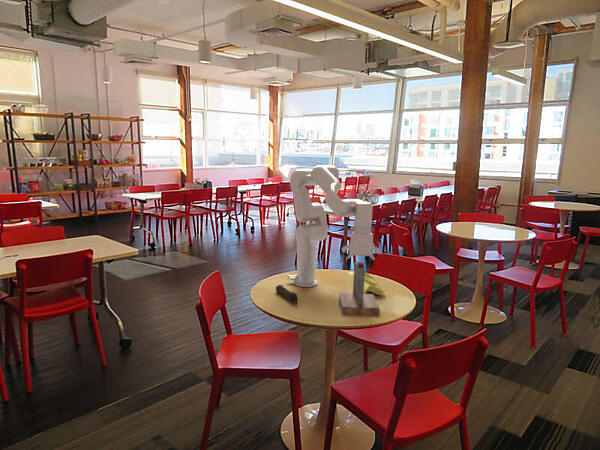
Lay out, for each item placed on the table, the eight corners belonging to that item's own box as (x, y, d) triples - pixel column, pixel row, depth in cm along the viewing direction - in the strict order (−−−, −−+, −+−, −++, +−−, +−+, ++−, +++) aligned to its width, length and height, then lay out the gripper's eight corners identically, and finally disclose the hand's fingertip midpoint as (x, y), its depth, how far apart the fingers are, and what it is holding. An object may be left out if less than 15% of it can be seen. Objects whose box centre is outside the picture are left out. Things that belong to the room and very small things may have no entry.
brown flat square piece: (342, 313, 179) (342, 306, 179) (339, 299, 196) (339, 293, 195) (379, 314, 179) (379, 307, 179) (372, 299, 196) (373, 294, 195)
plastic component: (385, 291, 201) (368, 283, 199) (378, 304, 202) (361, 296, 200) (373, 276, 220) (357, 268, 218) (366, 287, 221) (350, 280, 219)
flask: (360, 294, 194) (362, 257, 191) (365, 306, 180) (367, 266, 177) (352, 294, 194) (354, 257, 191) (356, 305, 180) (358, 266, 177)
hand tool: (275, 292, 203) (275, 283, 202) (282, 291, 205) (282, 282, 204) (291, 306, 186) (291, 296, 186) (299, 305, 188) (299, 295, 187)
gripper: (343, 230, 177) (341, 268, 181) (383, 232, 177) (380, 270, 181) (341, 227, 185) (339, 263, 188) (380, 228, 185) (377, 265, 188)
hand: (359, 266), depth 185 cm, fingers open, 9 cm apart
